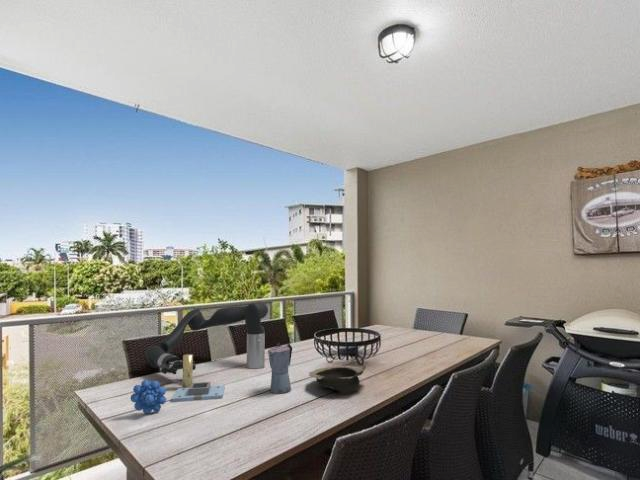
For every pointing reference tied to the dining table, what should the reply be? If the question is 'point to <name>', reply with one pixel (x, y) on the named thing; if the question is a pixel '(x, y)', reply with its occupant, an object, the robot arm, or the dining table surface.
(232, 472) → the dining table surface
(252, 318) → the robot arm
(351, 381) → the stone bowl
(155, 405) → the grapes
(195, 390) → the square socket mounting plate
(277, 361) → the moka pot
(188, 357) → the pin
